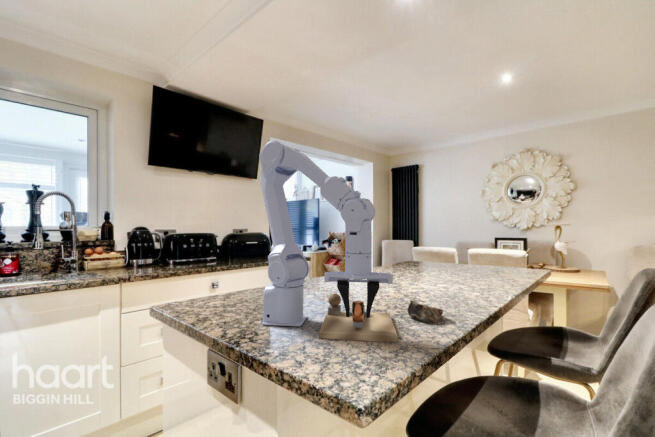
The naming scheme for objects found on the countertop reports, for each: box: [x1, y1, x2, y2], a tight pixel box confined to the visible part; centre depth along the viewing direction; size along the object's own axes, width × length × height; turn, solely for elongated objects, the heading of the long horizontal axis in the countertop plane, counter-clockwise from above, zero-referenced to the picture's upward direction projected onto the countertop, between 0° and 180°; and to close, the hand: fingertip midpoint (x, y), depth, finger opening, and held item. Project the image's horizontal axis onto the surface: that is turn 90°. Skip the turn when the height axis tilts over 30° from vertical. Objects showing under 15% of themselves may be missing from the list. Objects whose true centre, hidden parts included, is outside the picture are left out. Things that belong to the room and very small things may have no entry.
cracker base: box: [318, 293, 399, 343], centre depth 68 cm, size 16×16×6 cm
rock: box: [406, 300, 444, 324], centre depth 75 cm, size 9×6×10 cm
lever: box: [351, 300, 366, 328], centre depth 70 cm, size 17×3×5 cm, turn 174°
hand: (357, 316), depth 63 cm, fingers open, 4 cm apart
